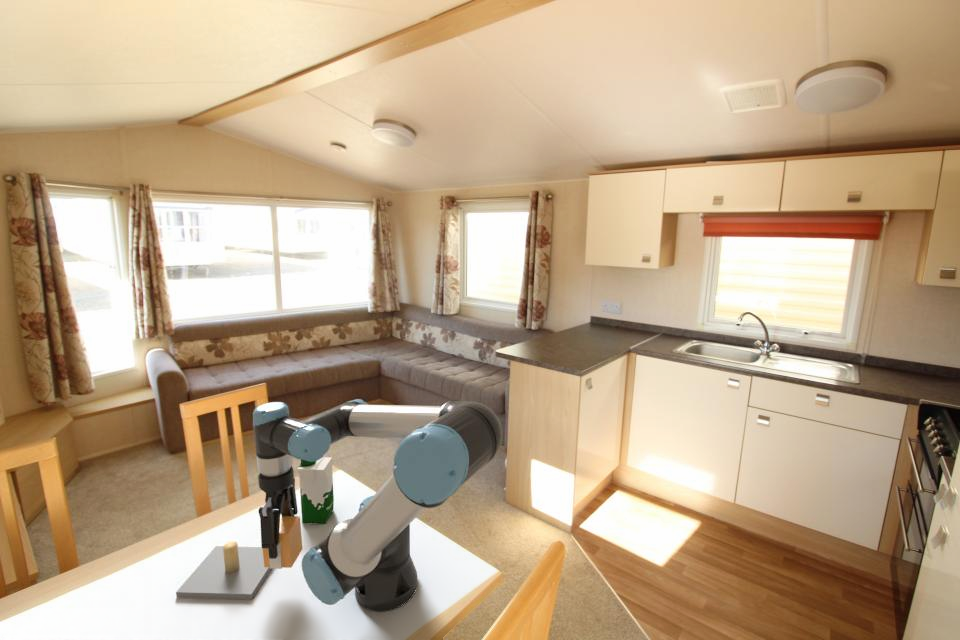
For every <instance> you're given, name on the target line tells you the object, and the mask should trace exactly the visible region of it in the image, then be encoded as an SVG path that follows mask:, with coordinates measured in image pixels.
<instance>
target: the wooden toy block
mask: <svg viewBox="0 0 960 640" xmlns="http://www.w3.org/2000/svg"><path fill="white" fill-rule="evenodd" d="M301 526H302V523H301V516H300V515H299V516H298V515H294V516H282V515H280V528H279V542H281V551H282V562H283V567H282V568H287V569H288V568H292V567H293V566H294V564H295V563H296V561H297V559H298V558H299V555H301V553H302V551H303V539H302V527H301ZM263 558H264V567H270V564H269V553H268V548H263Z"/></svg>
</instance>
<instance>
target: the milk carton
mask: <svg viewBox="0 0 960 640" xmlns="http://www.w3.org/2000/svg"><path fill="white" fill-rule="evenodd" d="M297 474H298V478H299V488H300V489H299V491H300V492H299V493H300V505H301V507H300V509H301V524H308V523H316V524H317V525H321V524H322V525H326V524H327V522H328V520H329V519H330V517H331V515H332V514H333V512H334V505H335V503H334V501H335V499H334V479H333V478H334V477H333V457H326V456H323V457H322V458H321V459H319V460H317V461H313V462H309V461H306V460H300V464H299V466H298V468H297ZM332 511H333V512H332Z"/></svg>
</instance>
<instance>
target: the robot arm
mask: <svg viewBox="0 0 960 640" xmlns="http://www.w3.org/2000/svg"><path fill="white" fill-rule="evenodd" d="M290 414H291V413H290V410H289V406H288V404H287V403H285V402H283V401H271V402H266V403H264V404H261V405H258V406H257V407H255V408H254V410H253V412H252V420H253V421H252V428H253V429H252V430H253V437H254V438H253V439H254V447H255V453H256V455H255V459H256V466H257V471H258V472H257V478H258V487H259V489H260V490H261V491H262V492H264V493H265V499H264V502H265V504H264V506H260V507H259V509H258V515H259V517H260V518H259V519H260V520H259V521H260V522H259V523H260V536H261V537H260V539H261V542H260V544H261V547H262V548H268V553H269V564H270V569H271V570H272V569H279V570H281V569H283V568H284V567H283V562H282V551H281V542H279V528H280V516H297V515H298V511H299V510H298V504H297V494H296V488H295V487H296V486H295V485H296V478H295V474H294V473H295V471H294V459H297V460H300V461H301V460H306V461H309V462H313V461H317V460H319V459H321V458H322V457H324V455H326V454H327V453H328V451H329V449H330V448H331V445H332V444H334V443H337V442H338V441H340V440H343V439H344V438H347V437H359V438H370V439H371V438H372V439H373V438H375V439H382V440H383V439H385V440H397V441H401V442H400V443H399V444H398V446H397V449H396V450H395V453H394V455H393V456H394V457H393V466H392V467H393V468H392V474H391V476H390V477H389V478H388V479H387V480H386V481H385V482H384V483H383V484H382V486H381V487H379V489H378V490H377V491H376V492H375V493H374V495H370V496H368V497H366V498H364V499H363V500H362V501H361V502H360V504H359V507H358V512H357V514H356V515H354V517H353V518H350V519H348V518H347V519H346V520H345V519H344V520H343V521H341V522H340V523H338V524H337V525H336V526H335V527H334V528H333V529H332V531H330V532H329V534H328V535H327V536H326V537H325V538H324V539H323V540H322V541H321V542H319V544H317V545H315V546H314V547H311V548H310V549H309V550H308V551H307V552H306V553H305V554H304V555H303V557H302V559H301V571H302V574H303V577H304V580H305V582H306V584H307V586H308V588H309V589H310V591H311V592H312V594H313V595H314V596H315V597H316V598H317V599H318V600H319V601H320V602H321V603H323V604H325V605H328V606H332V605H335V604H337V603H338V602H340V601H341V600H343V599H344V598H345V596H347V594H349V593H350V592H351V591H352V590H354V596H355V599H356V601H357V602H358V603H359V604H360V606H362V607H363V606H364V607H363V608H365V609H367V608H368V610H369V609H370V611H373V610H374V611H375V612H388V611H391V610H390V609H392V610H395V609H397V607H398V606H400V607H401V605H402V604H404V603H405V602H406V603H408V602H409V601H410V600H411V599H412V598H413V596H414V595H415V593H416V592H415V590H416V591H417V589H416V588H418V572H417V569H416V567H415V566H416V565H415V564H414V561H413V559H412V557H411V551H410V550H411V543H410V542H411V538H410V537H411V532H410V531H411V529H410V528H411V527H410V525H411V523H412V522H413V521H414V520H415V519H416V518H417V517H418V516H419V515H420V514H421V513H422V512H424V510H425V509H428V510H429V509H435V508H438V507H440V506H441V505H443V504H444V503H445V502H447V500H448V499H449V498H450V497H451V496H453V495H454V494H455V493H456V492H457V491H458V490H459V489H460V488H461V487H462V486H464V484H465V483H467V482H468V481H469V480H470V479H471V478H472V477H473V476H475V475H476V474H477V473H478V472H479V471H481V469H482V468H484V467H485V466H486V465H487V464H489V463H490V462H491V461H492V460H493V459H495V457H496V456H497V454H498V453H499V450H500V448H501V446H502V442H503V427H502V423H501V421H500V418H499V417H498V416H497V414H496V413H495V412H494V411H493V410H492V409H491V408H490V407H489V406H487V405H485V404H484V403H480V402H477V401H470V400H469V401H468V400H467V401H465V400H464V401H463V400H461V401H459V400H458V401H456V400H455V401H453V400H451V401H447V402H445V403H444V404H443V405H411V404H409V405H408V404H407V405H406V404H405V405H402V404H398V405H395V404H369V403H367V402H366V401H364V400H363V399H361V398H359V399H358V398H357V399H353V400H349V401H345V402H344V403H343V402H342V404H339V405H337V406H334V407H332V408H330V409H327V410H325V411H322V412H319V413H317V414H315V415H312V416H310V417H307V418H305V419H298V418H294V417H292V416H290ZM293 458H294V459H293ZM414 592H415V593H414ZM413 594H414V595H413ZM412 595H413V596H412ZM411 597H412V598H411ZM410 598H411V599H410ZM409 599H410V600H409ZM408 600H409V601H408ZM407 601H408V602H407ZM406 603H405V604H406ZM405 604H404V605H405ZM402 606H403V605H402ZM394 608H395V609H394ZM398 608H399V607H398ZM387 610H388V611H387ZM374 611H373V612H374Z"/></svg>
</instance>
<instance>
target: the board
mask: <svg viewBox="0 0 960 640" xmlns="http://www.w3.org/2000/svg"><path fill="white" fill-rule="evenodd" d="M271 570H272V569H270V567H264V558H263V548H262V546H238V542H237V541H229V542H226V543H225V544H224V545H223V546H221V545H216V546H215V547H214V548H212V550H211V551H210V553H208V555H207V556H206V557H205V558H204V559H203V561H201V563H200V564H199V565H198V566H197V568H196V569H195V570H194V571H192V573H191V574H190V576H189V577H188V578H187V579H186V580H185V581H184V583H182V585H180V587H179V588H178V589H177V590H176V591H175V596H176V599H178V598H179V599H209V600H211V599H216V600H249V601H251V600H253V599H254V597H255V596H256V594H257V593H258V591H259V590H260V588H261V586H262V585H263V584H264V581H266V579H267V578H268V575H269V574H270V573H271Z"/></svg>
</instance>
